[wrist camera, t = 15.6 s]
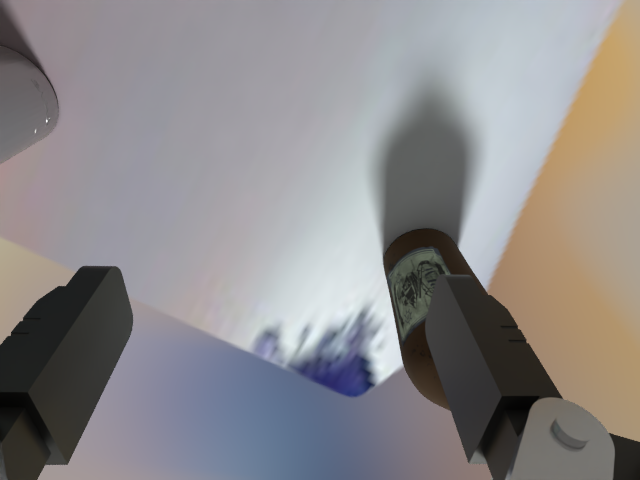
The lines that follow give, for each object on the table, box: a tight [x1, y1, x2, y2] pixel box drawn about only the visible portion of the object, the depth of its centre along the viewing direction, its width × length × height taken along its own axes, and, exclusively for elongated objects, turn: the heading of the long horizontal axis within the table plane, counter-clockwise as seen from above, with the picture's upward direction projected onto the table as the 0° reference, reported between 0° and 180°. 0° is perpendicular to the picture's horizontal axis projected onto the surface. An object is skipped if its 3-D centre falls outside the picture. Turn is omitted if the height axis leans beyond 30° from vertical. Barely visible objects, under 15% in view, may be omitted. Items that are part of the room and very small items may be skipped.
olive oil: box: [384, 229, 488, 411], centre depth 40 cm, size 11×11×25 cm
